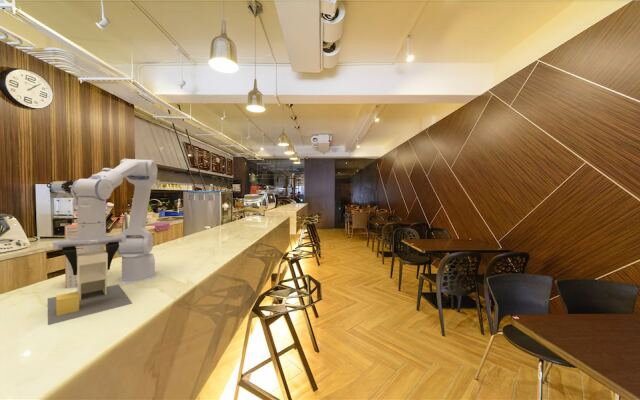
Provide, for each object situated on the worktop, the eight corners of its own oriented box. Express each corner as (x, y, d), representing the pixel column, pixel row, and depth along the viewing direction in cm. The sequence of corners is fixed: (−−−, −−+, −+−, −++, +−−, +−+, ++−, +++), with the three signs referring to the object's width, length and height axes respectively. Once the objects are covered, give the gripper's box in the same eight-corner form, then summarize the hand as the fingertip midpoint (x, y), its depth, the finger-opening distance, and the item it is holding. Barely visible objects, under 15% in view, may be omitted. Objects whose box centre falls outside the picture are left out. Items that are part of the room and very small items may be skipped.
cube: (77, 305, 67) (77, 291, 66) (79, 310, 64) (79, 295, 64) (56, 310, 64) (56, 295, 63) (56, 315, 61) (56, 300, 61)
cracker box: (84, 276, 90) (85, 220, 90) (105, 274, 93) (105, 220, 92) (63, 290, 77) (63, 225, 77) (87, 288, 80) (88, 224, 79)
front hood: (104, 273, 71) (104, 249, 71) (107, 278, 67) (107, 253, 67) (75, 278, 67) (76, 253, 67) (77, 284, 63) (77, 257, 63)
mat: (118, 285, 82) (118, 284, 82) (132, 305, 69) (132, 303, 69) (47, 300, 70) (47, 298, 70) (47, 327, 57) (47, 325, 57)
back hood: (103, 289, 78) (103, 267, 78) (106, 294, 74) (106, 271, 74) (77, 294, 74) (77, 271, 73) (79, 300, 70) (79, 276, 69)
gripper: (52, 226, 59) (52, 281, 59) (128, 222, 69) (127, 269, 70) (52, 223, 63) (52, 274, 64) (123, 219, 74) (123, 263, 74)
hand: (91, 271), depth 67 cm, fingers closed on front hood, 6 cm apart
